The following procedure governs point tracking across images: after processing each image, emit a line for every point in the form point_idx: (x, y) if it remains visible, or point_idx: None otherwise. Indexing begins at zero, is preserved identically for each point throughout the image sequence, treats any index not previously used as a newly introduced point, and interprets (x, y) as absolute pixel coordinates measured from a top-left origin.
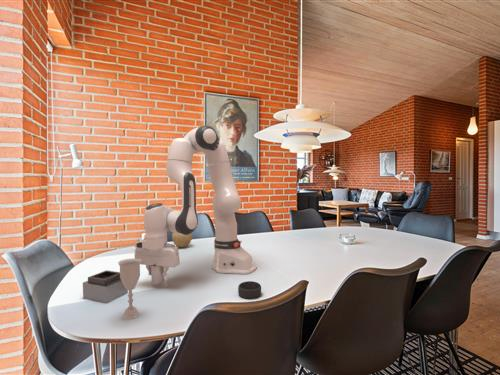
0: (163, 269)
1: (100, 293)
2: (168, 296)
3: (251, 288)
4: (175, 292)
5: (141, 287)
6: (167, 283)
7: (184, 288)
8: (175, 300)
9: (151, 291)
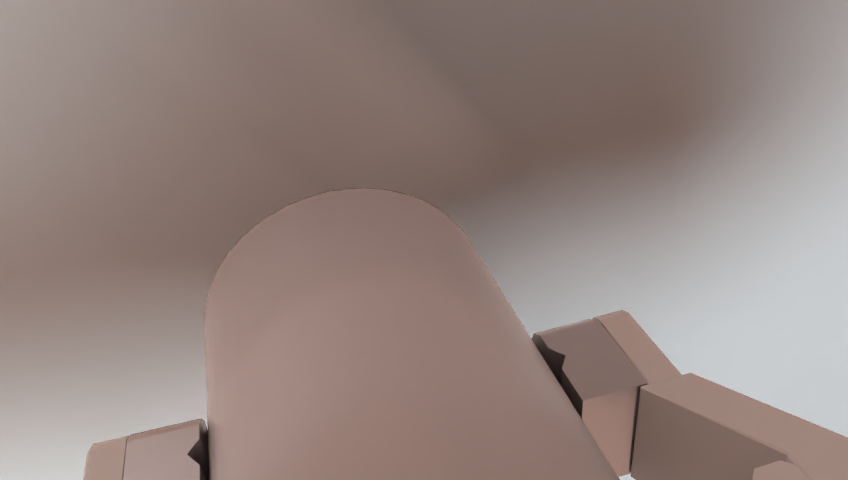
0: (599, 451)
1: None
2: (716, 374)
3: None
4: (749, 251)
5: (73, 434)
6: (380, 35)
7: (825, 65)
8: (837, 387)
9: None
